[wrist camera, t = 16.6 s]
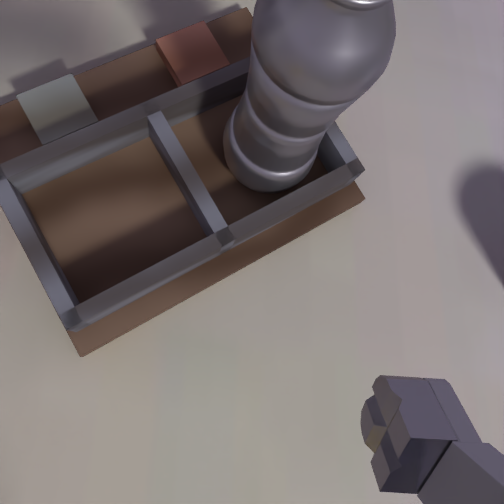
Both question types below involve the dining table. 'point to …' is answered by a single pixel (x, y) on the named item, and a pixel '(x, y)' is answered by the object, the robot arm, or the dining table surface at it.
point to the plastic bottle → (302, 83)
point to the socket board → (150, 181)
